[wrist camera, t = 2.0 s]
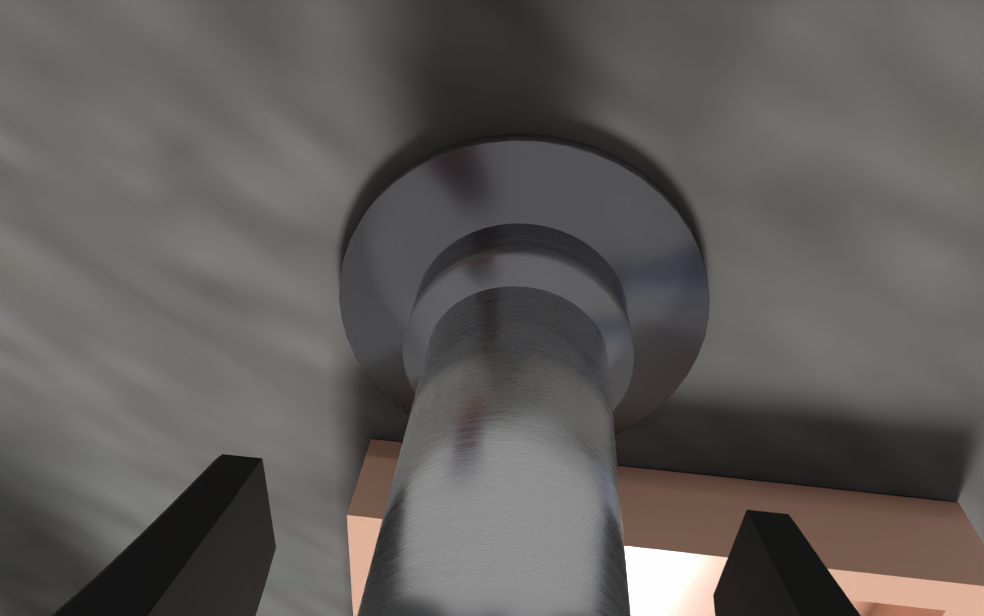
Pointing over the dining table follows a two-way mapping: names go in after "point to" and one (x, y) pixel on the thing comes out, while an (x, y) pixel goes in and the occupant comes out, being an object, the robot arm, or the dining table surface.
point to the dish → (714, 526)
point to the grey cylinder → (509, 435)
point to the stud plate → (540, 201)
